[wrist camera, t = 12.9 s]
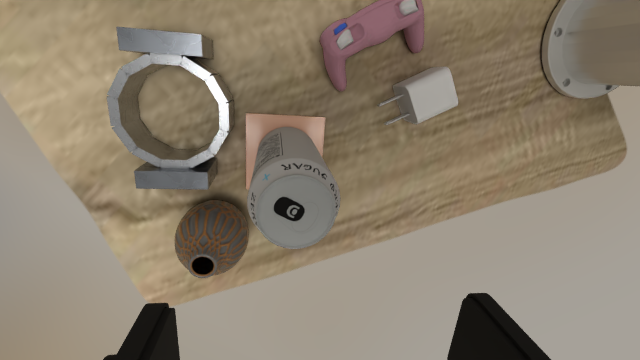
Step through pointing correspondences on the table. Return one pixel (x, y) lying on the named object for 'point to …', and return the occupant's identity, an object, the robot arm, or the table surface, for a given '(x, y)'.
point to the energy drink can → (292, 190)
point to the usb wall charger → (424, 95)
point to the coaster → (266, 123)
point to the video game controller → (370, 33)
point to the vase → (211, 238)
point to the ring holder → (162, 160)
